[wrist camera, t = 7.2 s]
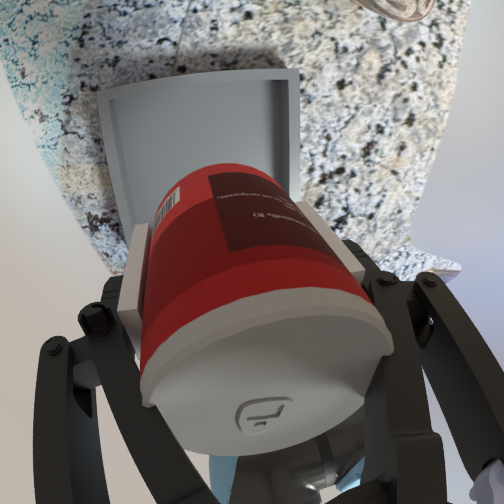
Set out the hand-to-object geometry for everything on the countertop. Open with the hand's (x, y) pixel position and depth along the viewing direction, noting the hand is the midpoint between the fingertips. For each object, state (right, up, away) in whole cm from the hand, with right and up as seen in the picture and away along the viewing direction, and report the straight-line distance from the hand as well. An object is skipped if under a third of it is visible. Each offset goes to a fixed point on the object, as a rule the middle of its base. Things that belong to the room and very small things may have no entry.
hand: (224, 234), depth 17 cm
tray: (-3, +8, +12) cm, 15 cm away
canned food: (0, 0, +1) cm, 1 cm away
